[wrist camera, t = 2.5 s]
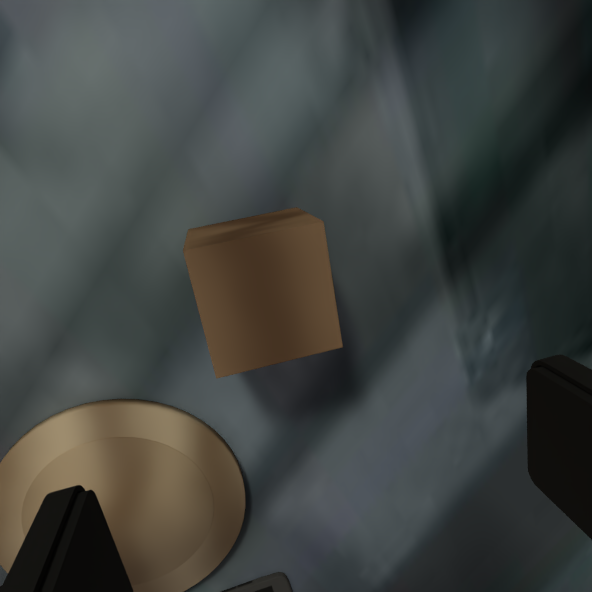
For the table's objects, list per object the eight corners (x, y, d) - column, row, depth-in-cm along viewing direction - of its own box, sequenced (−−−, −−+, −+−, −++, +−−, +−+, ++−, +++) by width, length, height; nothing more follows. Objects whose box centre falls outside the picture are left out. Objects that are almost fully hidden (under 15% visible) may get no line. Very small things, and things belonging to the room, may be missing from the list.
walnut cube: (296, 207, 25) (323, 221, 19) (313, 307, 27) (342, 347, 21) (188, 229, 24) (183, 250, 18) (213, 330, 26) (216, 378, 20)
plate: (215, 371, 26) (215, 378, 26) (264, 559, 31) (265, 570, 30) (-55, 438, 25) (-64, 447, 24) (41, 626, 29) (37, 640, 29)
